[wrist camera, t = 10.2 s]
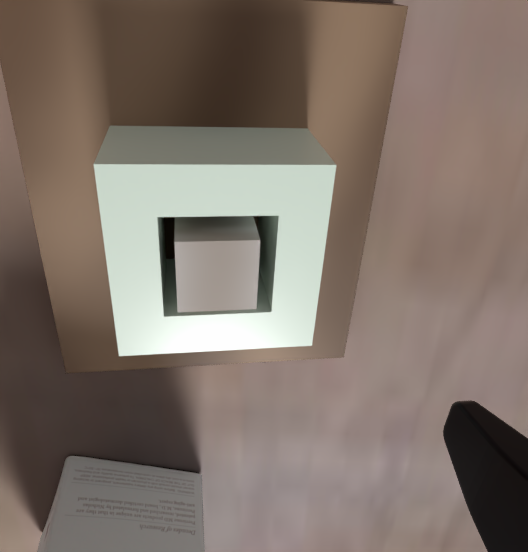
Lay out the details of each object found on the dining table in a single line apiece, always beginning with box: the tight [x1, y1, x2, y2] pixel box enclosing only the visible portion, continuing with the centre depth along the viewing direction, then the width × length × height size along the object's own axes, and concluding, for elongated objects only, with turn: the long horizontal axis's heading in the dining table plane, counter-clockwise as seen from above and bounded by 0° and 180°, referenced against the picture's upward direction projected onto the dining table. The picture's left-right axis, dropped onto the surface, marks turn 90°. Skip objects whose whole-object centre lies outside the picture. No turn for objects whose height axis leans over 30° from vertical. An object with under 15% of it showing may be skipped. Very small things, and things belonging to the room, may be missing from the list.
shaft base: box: [0, 0, 408, 373], centre depth 17 cm, size 12×14×5 cm
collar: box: [94, 126, 336, 356], centre depth 16 cm, size 6×6×4 cm
